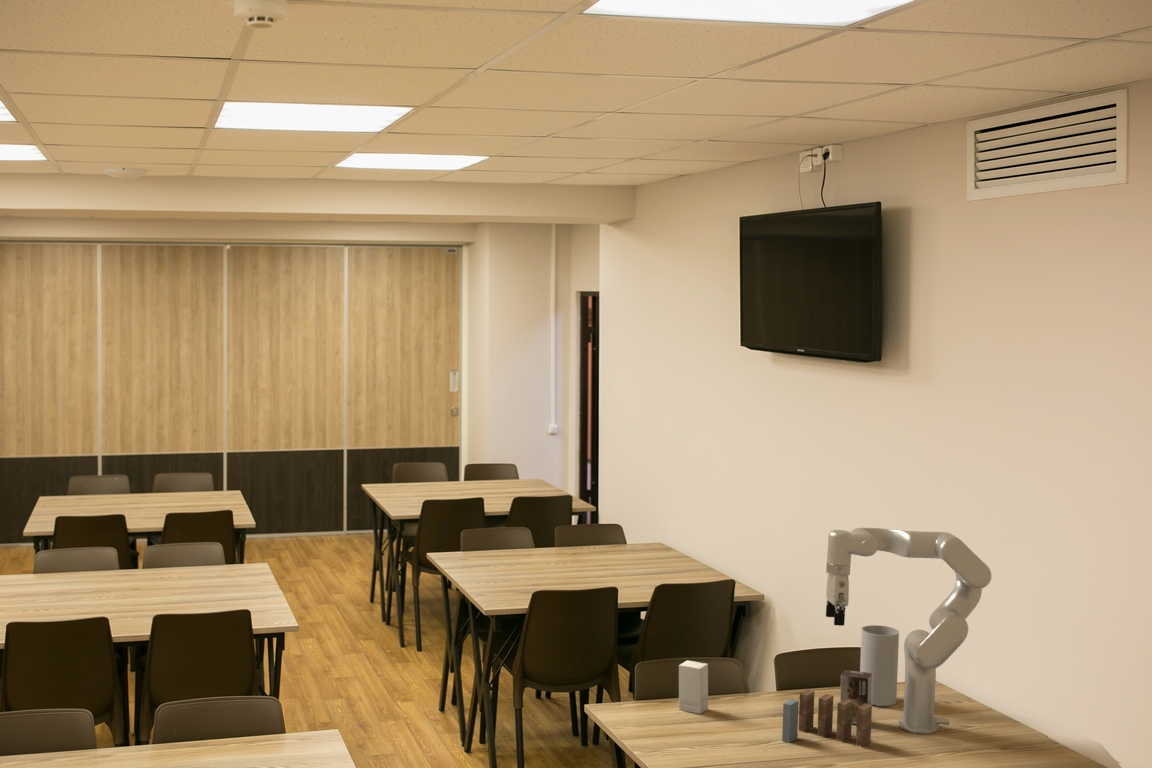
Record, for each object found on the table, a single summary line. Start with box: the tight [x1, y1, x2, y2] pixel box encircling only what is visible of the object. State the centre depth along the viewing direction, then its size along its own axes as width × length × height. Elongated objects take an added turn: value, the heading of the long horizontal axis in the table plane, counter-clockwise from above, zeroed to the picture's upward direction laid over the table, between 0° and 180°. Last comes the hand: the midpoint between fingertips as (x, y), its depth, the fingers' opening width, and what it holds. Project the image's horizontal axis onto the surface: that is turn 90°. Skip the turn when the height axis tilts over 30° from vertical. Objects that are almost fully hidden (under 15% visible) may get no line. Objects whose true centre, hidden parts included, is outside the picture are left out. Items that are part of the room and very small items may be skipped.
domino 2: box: [816, 693, 834, 738], centre depth 354 cm, size 2×6×12 cm, turn 142°
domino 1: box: [798, 689, 815, 733], centre depth 358 cm, size 2×6×12 cm, turn 142°
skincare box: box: [678, 659, 709, 715], centre depth 373 cm, size 8×7×16 cm
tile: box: [781, 698, 800, 744], centre depth 348 cm, size 2×6×12 cm, turn 142°
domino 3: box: [835, 699, 853, 743], centre depth 350 cm, size 2×6×12 cm, turn 142°
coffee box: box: [839, 669, 871, 725], centre depth 365 cm, size 9×6×16 cm
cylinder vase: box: [859, 624, 900, 707], centre depth 385 cm, size 12×12×25 cm
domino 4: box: [855, 703, 873, 748], centre depth 346 cm, size 2×6×12 cm, turn 142°
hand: (834, 621), depth 360 cm, fingers open, 9 cm apart
